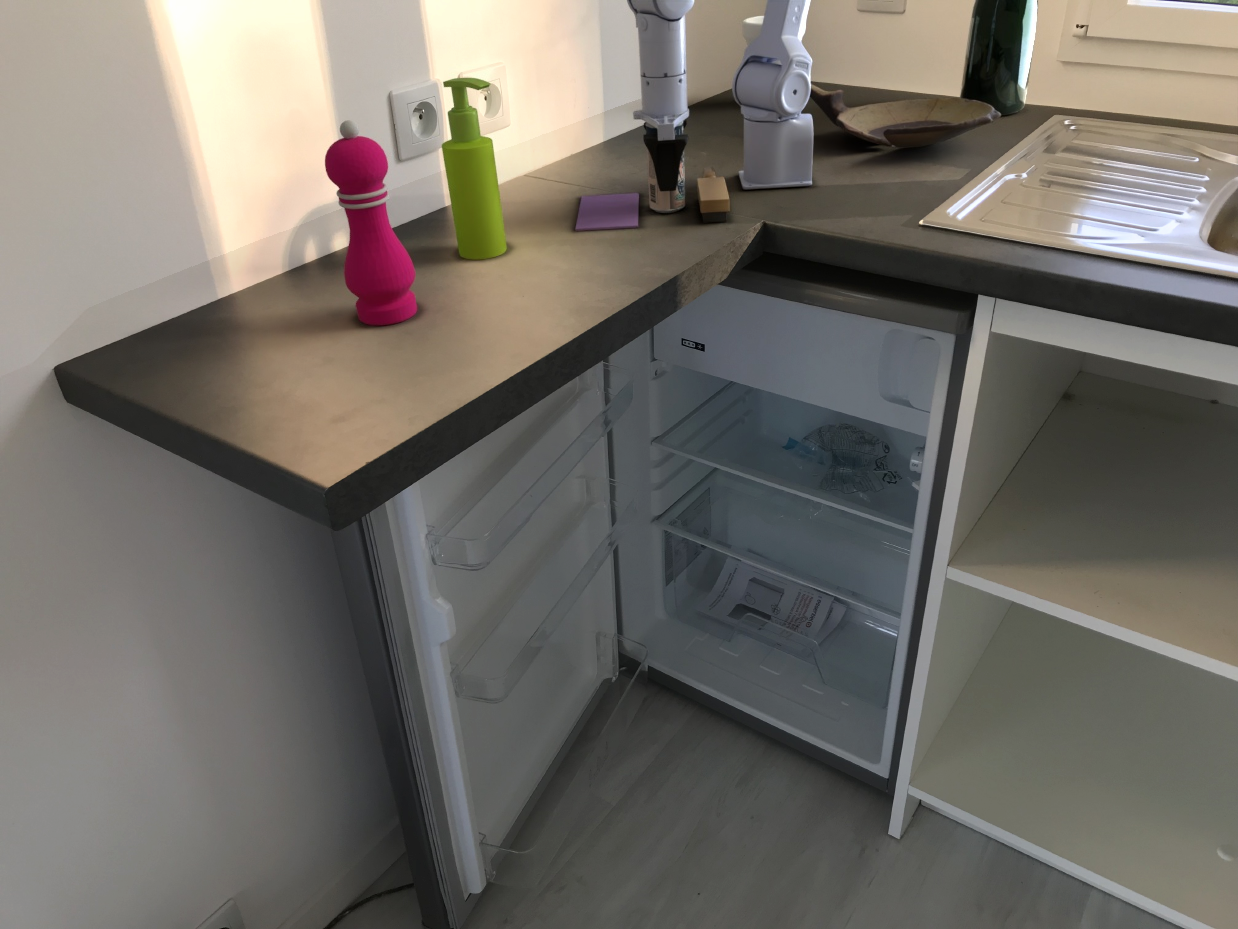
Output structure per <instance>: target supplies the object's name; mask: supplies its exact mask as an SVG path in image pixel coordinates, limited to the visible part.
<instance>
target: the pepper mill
mask: <svg viewBox="0 0 1238 929" xmlns="http://www.w3.org/2000/svg"><path fill="white" fill-rule="evenodd" d="M359 132H360V129H359V126H358V123H356V122H355V121H353V120H350V119H349V120H343V122H342V123H341V124H340V125H339V133H340V135H341V136H342V138H339V139H338V140H336V141H334V142H333V143H332V144H331V145H330V146H329V147H328V149H327V151H326V153H325V157H324V166H325V167H324V168H325V173H326V175H327V177H328V179H329V180H330V181H331V183H333V184H334V185H335V186H336V187H337V188H338V189H337V190H336V192H335V193H336V196H337V197H338V205H339V207H341V208H343V209H344V212H345V216H346V219H347V223H348V228H349V241H348V247H347V252H346V254H345V255H346V256H345V260H344V266H343V269H344V270H343V276H344V281H345V285H346V287H347V288H346V289H348V290H349V292H350V293H351V294H353V295H354V296H355V297H357V300H356V301H355V308H356V313H357V317H358V320H359V321H360V322H361V323H363V324H365V325H369V326H391V325H395V324H398V323H402V322H405V321H407V320H410V319H411V318H412V317H414V316H415V315H416V313H417V312H418V304H417V299H416V294H415V293H414V292H413V291H412V290H410V289H411V288H412V285H413V284H414V282H415V279H416V269H415V267H414V263H413V261H412V259H411V256H410V254H409V252H408V251H407V250H406V247H405V246H403V244H402V243H401V240H399V238H398V237H397V235H396V233H395V232H394V230H393V228H392V225H391V223H390V219H389V214H388V209H387V202H388V201H389V200H390V195H389V193H388V188H389V187H388V185H387V184H386V183H384V179H385V178H386V176H387V175H388V173H389V172H388V170H389V162H388V156H387V155H386V152H385V151H384V149H383V148H382V146H381V144H380V143H378V142H377V141H375V140H374V139H372V138H369V137H367V136H362V135H359V134H360V133H359Z"/></svg>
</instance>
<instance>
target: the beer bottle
mask: <svg viewBox="0 0 1238 929" xmlns="http://www.w3.org/2000/svg"><path fill="white" fill-rule="evenodd" d="M1038 11H1039V0H974V4H973V6H972V12H971V17H970V23H969V28H968V30H969V31H968V36H967V42H966V49H965V57H964V62H963V63H964V64H963V69H962V70H963V71H962V77H961V85H960V93H959V98H963V99H968V100H976V101H980V102H983V103H987V104H989V105H991V106H992V107H993V108H994V110H996V111H998V112H999V113H1000V114H1001V116H1008V115H1013V114H1016V113H1019V112H1021V111H1022V110H1023V109H1024V108H1025V106H1026V105H1025V104H1026V100H1027V94H1028V87H1029V80H1030V74H1031V66H1032V59H1033V52H1034V45H1035V37H1036V30H1037V22H1038V21H1037V20H1038V13H1039V12H1038Z"/></svg>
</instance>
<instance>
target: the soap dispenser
mask: <svg viewBox="0 0 1238 929" xmlns="http://www.w3.org/2000/svg"><path fill="white" fill-rule="evenodd" d="M442 84H443V88H450V89H451V96H452V102H453V107H451V109H450V110H448V111H447V118H448V125H449V131H450V139H448V140H445V141H444V142H442V144H441V150H442V157H443V162H444V168H445V174H446V181H447V187H448V193H449V199H450V205H451V211H452V218H453V225H454V229H455V236H456V241H457V249H458V254H459V256H460V257H461V258H462V259H463V258H464V259H466V260H475V261H476V260H487V259H492V258H496V257H500V256H501V255H503V254H505V252H506V251H507V249H508V246H507V238H506V231H505V223H504V216H503V209H502V202H501V195H500V194H501V193H500V186H499V178H498V173H497V165H496V164H497V163H496V157H495V150H494V143H493V139H492V138H491V137H488V136H485V135H484V136H483V135H482V134H481V127H480V122H479V121H480V120H479V113H478V109H477V108H476V107H473V106H472V105H470V103H469V97H468V96H469V95H468V88H469V89H473V90H476V91H481V90H484V89H487V88H489V87H490V86H491V82H489V81H487V80H484V79H481V78H477V77H455V78H450V79H448V80H445V81H442Z"/></svg>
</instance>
